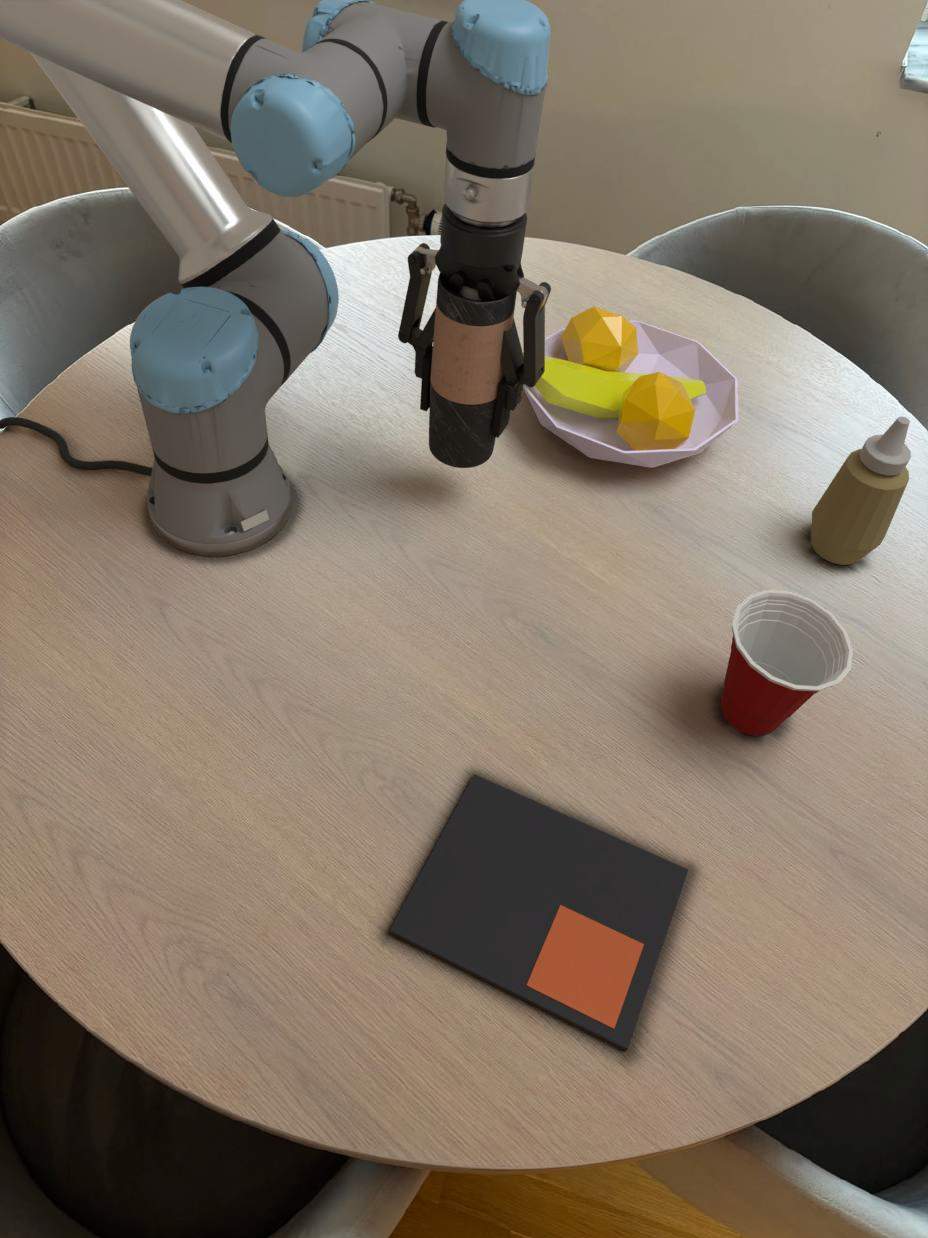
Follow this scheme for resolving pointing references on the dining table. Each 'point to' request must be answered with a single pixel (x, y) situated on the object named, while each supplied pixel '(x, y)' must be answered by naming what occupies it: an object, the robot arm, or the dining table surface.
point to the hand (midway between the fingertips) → (464, 416)
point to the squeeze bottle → (862, 498)
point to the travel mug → (466, 374)
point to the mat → (544, 909)
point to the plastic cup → (780, 659)
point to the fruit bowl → (632, 391)
